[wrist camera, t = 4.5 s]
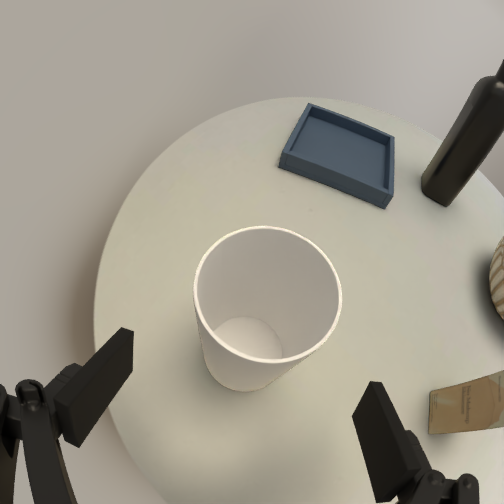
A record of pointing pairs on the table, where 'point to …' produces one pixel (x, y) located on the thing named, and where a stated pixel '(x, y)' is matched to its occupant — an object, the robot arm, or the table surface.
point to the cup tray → (342, 155)
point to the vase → (497, 278)
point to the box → (468, 406)
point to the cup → (263, 304)
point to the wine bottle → (467, 140)
